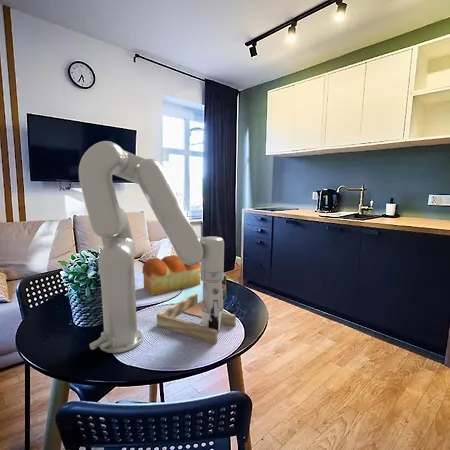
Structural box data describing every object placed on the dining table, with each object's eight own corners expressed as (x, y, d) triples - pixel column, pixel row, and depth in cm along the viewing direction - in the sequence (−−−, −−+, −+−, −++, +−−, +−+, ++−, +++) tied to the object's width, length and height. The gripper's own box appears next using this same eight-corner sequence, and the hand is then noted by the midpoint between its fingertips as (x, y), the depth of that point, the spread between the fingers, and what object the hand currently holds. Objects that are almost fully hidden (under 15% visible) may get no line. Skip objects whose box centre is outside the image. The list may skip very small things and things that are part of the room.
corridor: (215, 344, 86) (215, 331, 86) (157, 325, 98) (156, 314, 97) (247, 315, 106) (247, 305, 105) (195, 302, 118) (195, 293, 117)
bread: (189, 278, 150) (188, 250, 148) (201, 284, 140) (200, 255, 138) (142, 288, 135) (141, 257, 133) (152, 296, 125) (151, 263, 123)
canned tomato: (208, 295, 126) (208, 271, 124) (226, 295, 125) (226, 271, 124) (206, 302, 118) (206, 276, 117) (225, 302, 118) (225, 277, 116)
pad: (205, 318, 103) (205, 317, 103) (183, 312, 108) (183, 311, 108) (219, 308, 112) (219, 307, 112) (198, 303, 117) (198, 302, 117)
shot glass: (221, 334, 91) (221, 313, 90) (199, 333, 91) (200, 312, 90) (221, 324, 98) (222, 304, 97) (202, 323, 98) (202, 304, 97)
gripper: (230, 282, 85) (229, 339, 87) (216, 266, 101) (216, 315, 104) (206, 284, 83) (205, 342, 85) (196, 268, 99) (195, 317, 102)
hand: (211, 326), depth 94 cm, fingers closed on shot glass, 5 cm apart
